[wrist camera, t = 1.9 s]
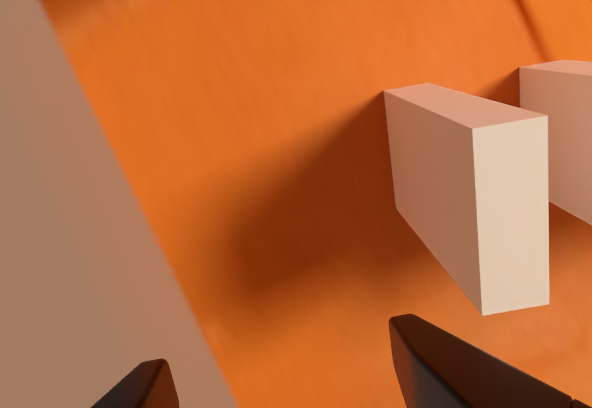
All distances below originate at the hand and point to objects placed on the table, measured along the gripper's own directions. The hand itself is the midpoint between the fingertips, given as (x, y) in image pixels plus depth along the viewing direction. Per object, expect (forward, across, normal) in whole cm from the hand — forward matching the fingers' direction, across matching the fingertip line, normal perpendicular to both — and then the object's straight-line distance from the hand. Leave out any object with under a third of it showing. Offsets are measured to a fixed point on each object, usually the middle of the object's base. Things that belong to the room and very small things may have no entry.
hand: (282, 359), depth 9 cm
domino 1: (+13, -6, 0) cm, 14 cm away
